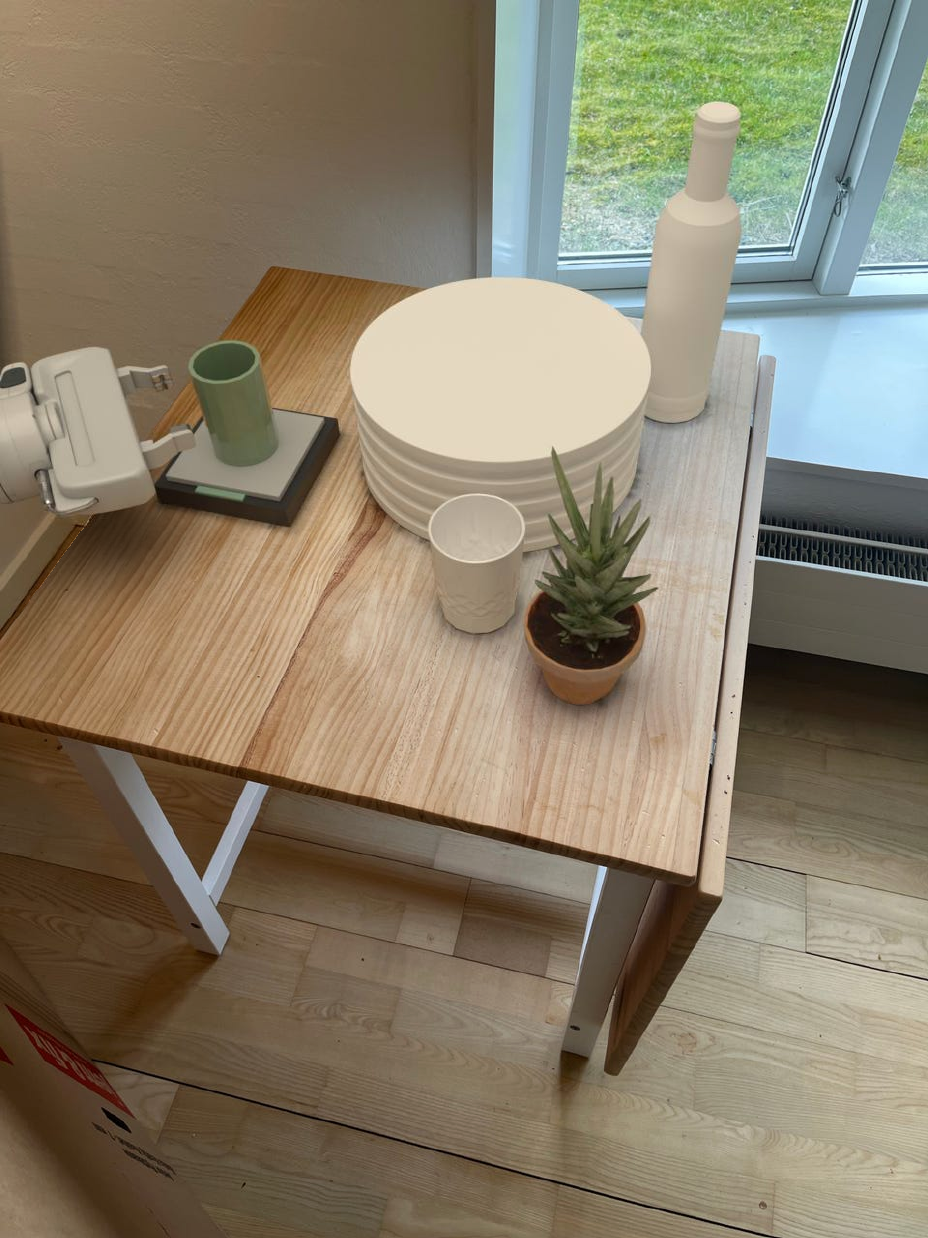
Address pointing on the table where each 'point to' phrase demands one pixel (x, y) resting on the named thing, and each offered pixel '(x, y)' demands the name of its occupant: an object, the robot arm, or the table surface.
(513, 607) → the white cup
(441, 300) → the plate stack
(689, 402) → the bottle
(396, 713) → the table surface
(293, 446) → the scale
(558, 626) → the potted plant
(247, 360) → the tumbler
